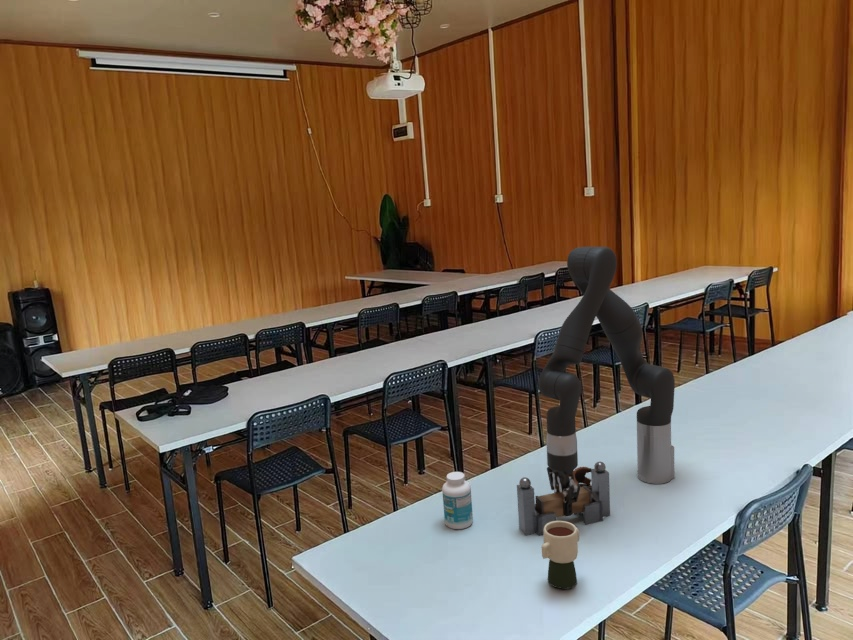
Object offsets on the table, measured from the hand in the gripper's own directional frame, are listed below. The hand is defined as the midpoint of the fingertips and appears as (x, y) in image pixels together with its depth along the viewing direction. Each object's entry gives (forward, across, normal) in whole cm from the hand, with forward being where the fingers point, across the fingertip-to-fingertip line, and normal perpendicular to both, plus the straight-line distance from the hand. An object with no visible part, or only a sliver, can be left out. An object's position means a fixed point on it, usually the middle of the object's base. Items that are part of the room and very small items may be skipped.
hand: (564, 511), depth 168 cm
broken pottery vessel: (+3, +14, -12) cm, 18 cm away
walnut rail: (0, 0, 0) cm, 0 cm away
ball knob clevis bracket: (+3, 0, 0) cm, 3 cm away
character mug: (+3, -23, +13) cm, 27 cm away
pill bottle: (+3, +11, +25) cm, 27 cm away
